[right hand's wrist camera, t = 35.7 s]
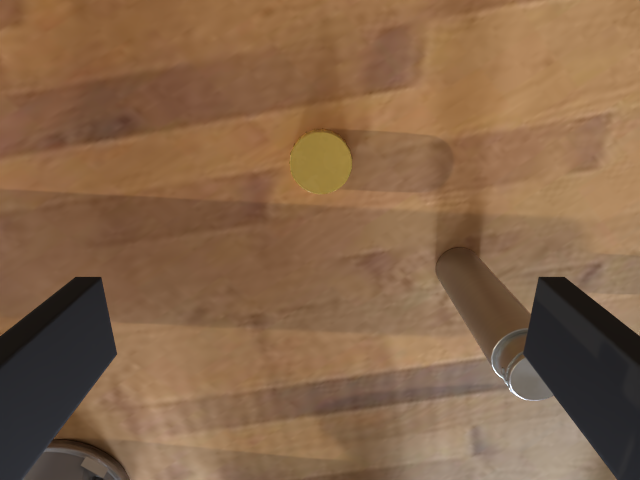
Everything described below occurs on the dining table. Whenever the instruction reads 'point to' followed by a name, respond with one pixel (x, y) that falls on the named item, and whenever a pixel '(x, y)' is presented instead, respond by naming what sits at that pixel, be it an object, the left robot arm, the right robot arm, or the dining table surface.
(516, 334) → the jar
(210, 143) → the dining table surface
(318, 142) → the lid
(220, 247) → the dining table surface
